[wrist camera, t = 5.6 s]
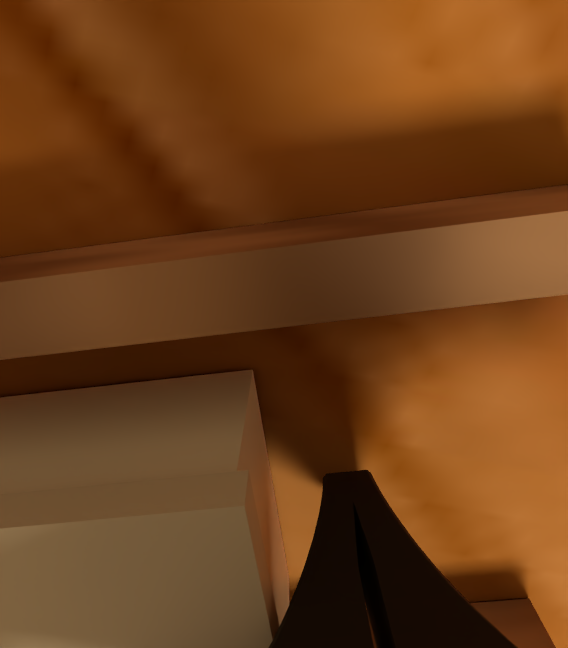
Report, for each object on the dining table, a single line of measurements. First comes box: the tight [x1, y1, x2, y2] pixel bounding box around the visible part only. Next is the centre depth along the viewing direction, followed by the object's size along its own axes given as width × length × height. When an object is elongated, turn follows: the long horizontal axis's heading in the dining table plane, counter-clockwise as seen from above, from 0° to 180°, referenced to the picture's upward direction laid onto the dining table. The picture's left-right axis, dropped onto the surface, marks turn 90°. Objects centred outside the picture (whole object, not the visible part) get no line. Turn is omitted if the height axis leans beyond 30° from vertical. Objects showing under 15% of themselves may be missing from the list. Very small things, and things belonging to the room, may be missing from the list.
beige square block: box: [0, 370, 289, 648], centre depth 11 cm, size 9×9×5 cm
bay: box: [0, 185, 568, 648], centre depth 12 cm, size 26×16×4 cm, turn 97°
